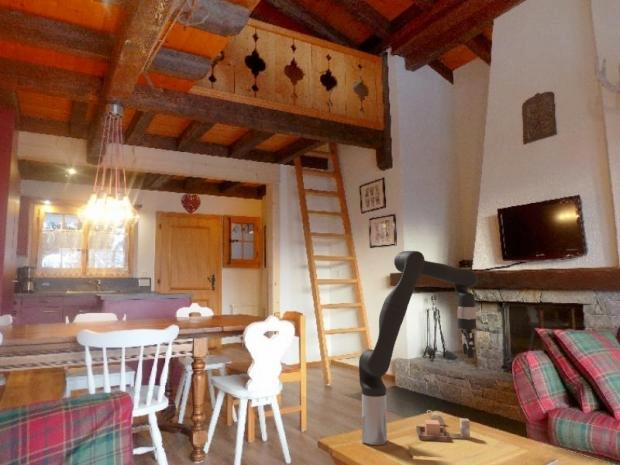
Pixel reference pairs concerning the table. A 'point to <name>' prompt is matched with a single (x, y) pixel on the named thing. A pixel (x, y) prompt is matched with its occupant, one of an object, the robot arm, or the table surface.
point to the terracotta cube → (432, 427)
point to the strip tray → (446, 433)
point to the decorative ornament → (436, 417)
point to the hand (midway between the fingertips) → (468, 355)
